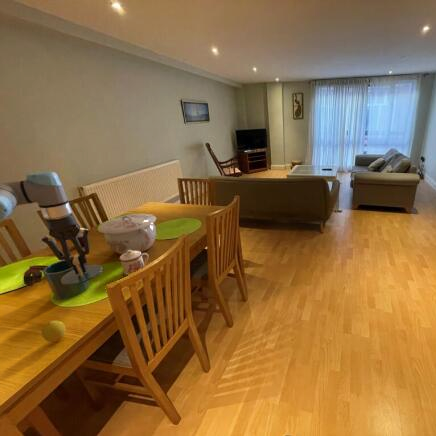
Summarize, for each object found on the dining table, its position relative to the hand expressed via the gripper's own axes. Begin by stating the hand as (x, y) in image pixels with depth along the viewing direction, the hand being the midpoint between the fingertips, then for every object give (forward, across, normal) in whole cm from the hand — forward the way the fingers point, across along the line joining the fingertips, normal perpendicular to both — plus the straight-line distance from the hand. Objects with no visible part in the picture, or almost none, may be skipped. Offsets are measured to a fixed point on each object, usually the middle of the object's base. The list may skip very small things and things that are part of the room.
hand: (81, 271), depth 94 cm
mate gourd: (+14, +10, -63) cm, 65 cm away
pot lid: (+2, 0, 0) cm, 2 cm away
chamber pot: (+14, -17, -40) cm, 46 cm away
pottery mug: (+14, +22, -31) cm, 41 cm away
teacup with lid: (+14, -17, -15) cm, 27 cm away
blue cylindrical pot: (+14, +8, -13) cm, 21 cm away
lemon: (+14, +8, +18) cm, 24 cm away
